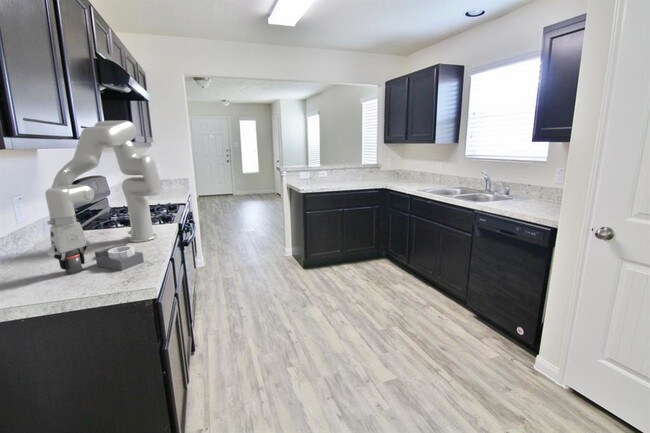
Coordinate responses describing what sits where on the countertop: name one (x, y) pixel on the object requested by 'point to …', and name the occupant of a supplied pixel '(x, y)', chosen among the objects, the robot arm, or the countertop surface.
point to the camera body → (118, 257)
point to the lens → (73, 262)
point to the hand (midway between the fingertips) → (73, 265)
